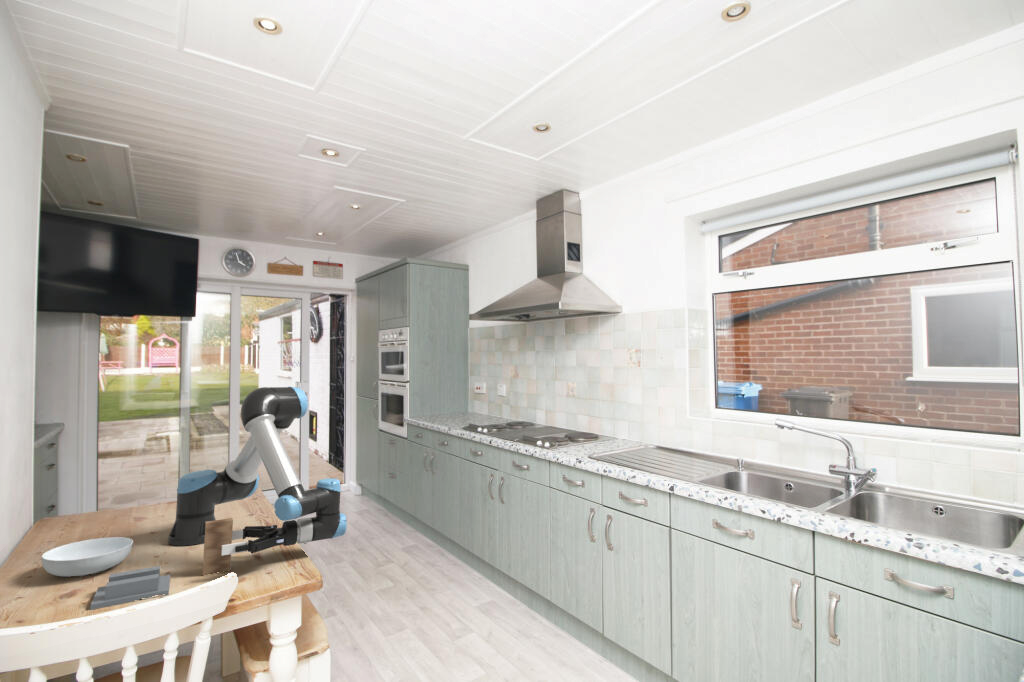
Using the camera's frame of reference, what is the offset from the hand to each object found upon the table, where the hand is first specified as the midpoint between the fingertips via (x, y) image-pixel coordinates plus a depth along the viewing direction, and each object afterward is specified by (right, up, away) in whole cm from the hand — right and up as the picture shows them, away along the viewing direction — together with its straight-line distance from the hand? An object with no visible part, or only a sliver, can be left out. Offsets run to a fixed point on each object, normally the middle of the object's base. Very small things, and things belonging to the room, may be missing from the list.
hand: (220, 543), depth 145 cm
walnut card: (-1, -8, 0) cm, 8 cm away
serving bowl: (-39, -8, 0) cm, 40 cm away
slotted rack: (-14, -7, -15) cm, 22 cm away
